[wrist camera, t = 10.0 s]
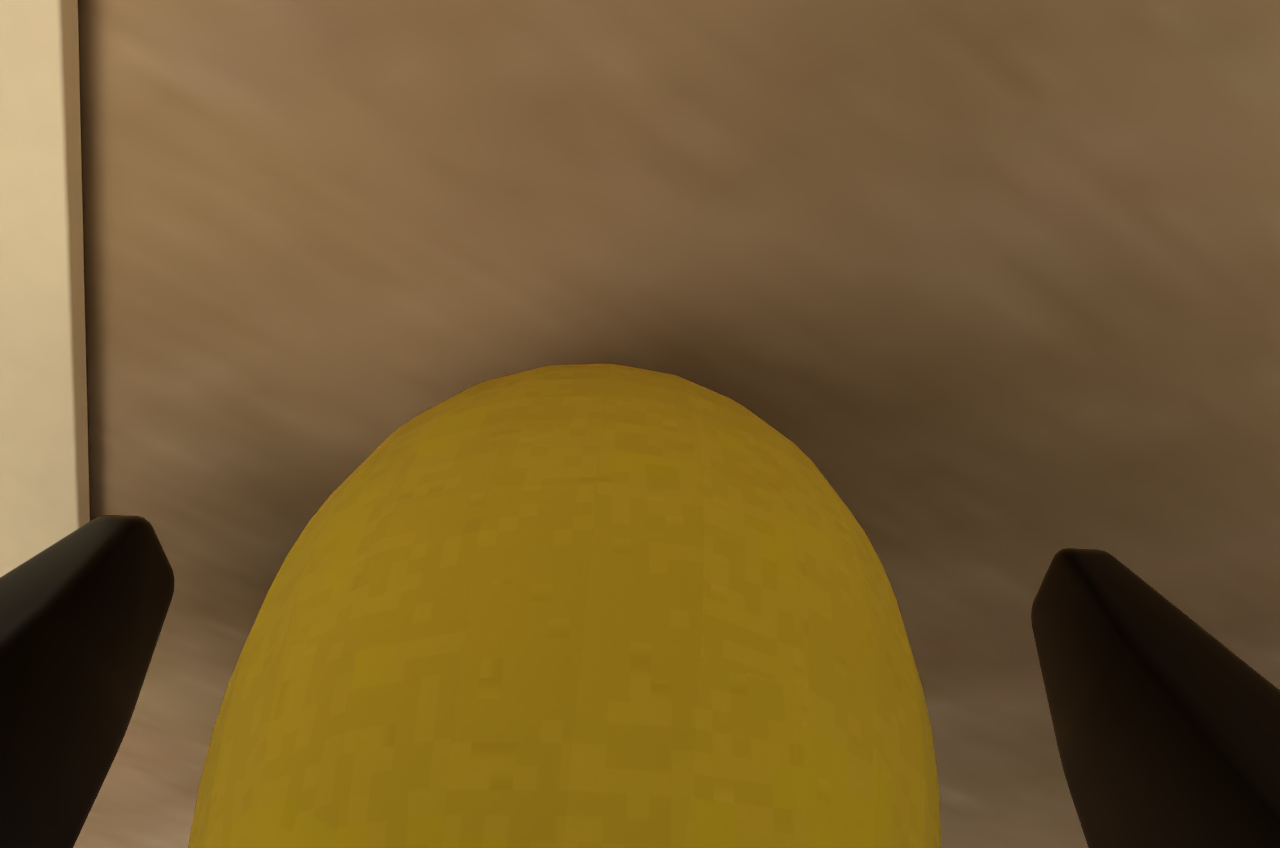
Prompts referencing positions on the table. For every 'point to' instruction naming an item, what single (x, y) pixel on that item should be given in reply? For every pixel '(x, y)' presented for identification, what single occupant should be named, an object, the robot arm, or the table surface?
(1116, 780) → the robot arm
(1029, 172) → the table surface
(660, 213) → the table surface
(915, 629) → the table surface
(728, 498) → the lemon
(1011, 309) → the table surface
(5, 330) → the wooden plank
